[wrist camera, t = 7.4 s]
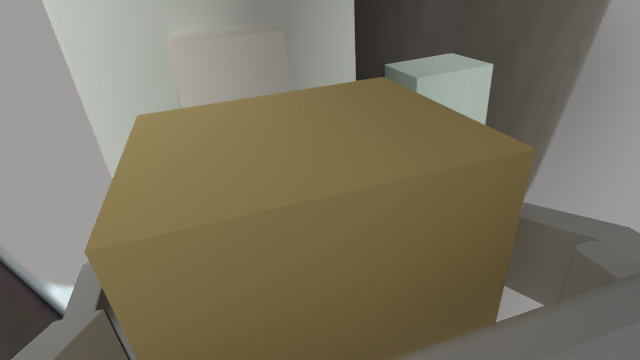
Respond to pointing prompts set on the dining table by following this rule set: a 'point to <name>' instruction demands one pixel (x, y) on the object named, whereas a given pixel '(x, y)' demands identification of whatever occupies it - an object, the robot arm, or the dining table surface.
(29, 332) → the dining table surface
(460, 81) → the sage brick
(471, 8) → the dining table surface
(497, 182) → the ochre brick
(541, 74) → the dining table surface
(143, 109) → the build board
